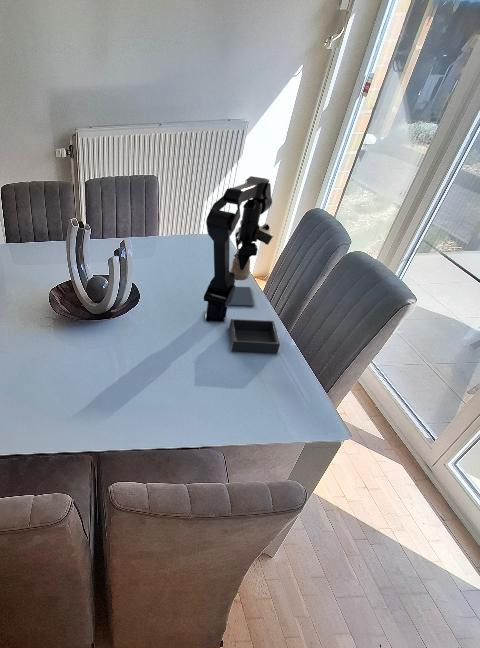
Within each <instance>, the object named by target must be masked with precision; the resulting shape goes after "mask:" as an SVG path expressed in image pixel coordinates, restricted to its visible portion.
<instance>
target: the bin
mask: <svg viewBox="0 0 480 648" xmlns="http://www.w3.org/2000/svg"><path fill="white" fill-rule="evenodd" d="M228 335H229V342H230V350H231V353H244V354H265V355H278V352H279V349H280V346H281V342H280V339H279V335H278V331H277V327H276V322H275V320H259V319H239V318H237V319H236V318H231V319H230V322H229V327H228Z"/></svg>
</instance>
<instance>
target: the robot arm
mask: <svg viewBox="0 0 480 648" xmlns="http://www.w3.org/2000/svg"><path fill="white" fill-rule="evenodd" d="M271 186H272V185H271V182H270V179H269V178H266V177H258V176H253V175H251V176H249V177H248V178H246V179H245V183H242V184H239V185H236V186H234V187H229V188H226V190H225V192H224V194H223V196H222V197H220V198H219V199H218V200H216V201H215V203H213V204H212V207H211V209H210V210H209V212H208V213H207V216H206V220H205V226H206V231H207V235H208V236H209V238H210V239H211V240H212V241H213V274H214V275H213V277H212V278H211V279H210V281H209V283H208V286H207V289H206V291H205V293H204V295H203V302H207V305H206V311H205V322H212V323H213V322H215V323H217V322H218V323H224V322H225V318H226V317H227V311H228V304H229V303H230V302H231V300H232V297H233V294H234V290H235V287H236V285H235V283H236V280H235V274H234V273H232V272H229V271H230V237H231V236H232V234H233V233H234V231H235V233H234V237H235V238H234V239H235V245H236V253H237V254H238V259H239V265H240V270H244V268H245V265H246V263H247V261H248V259H249V258H250V259H251V257H254V256H257V254H258V251H259V250H258V249H259V248H258V245H257V244H256V243H257V242H258V241H259V242H262V243H263V244H265V245H269V244H270V243H271V241H272V239H273V237H274V233H273V231H272V230H271V229H270V224H268V223H264V224H263V225H260V219H261V218H260V217H261V215H262V214H264V213H266V211H268V210H269V209H270V208H271V207H272V204H273V198H272V187H271ZM244 202H245V203H244ZM242 203H243V206H242ZM227 204H232V205H236V207H237V209H236V211H235V213H234V212H230V211H226V210H221V209H223V208H224V207H225V206H226V205H227ZM241 206H242V208H243V211H242V217H241ZM240 218H241V219H240ZM239 220H240V222H239ZM238 223H239V224H240V226H239V227H237V225H238ZM236 227H237V228H236ZM211 294H214V295H218V296H221V297H225V298H226V299H225V298H221V297H218V296H214V295H211Z"/></svg>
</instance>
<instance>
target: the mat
mask: <svg viewBox="0 0 480 648" xmlns="http://www.w3.org/2000/svg"><path fill="white" fill-rule="evenodd" d="M211 295H214V294H211ZM214 296H218V295H214ZM218 297H221V296H218ZM221 298H225V297H221ZM225 299H226V298H225ZM228 306H230V307H232V306H233V307H254V304H253V298H252V294H251V289H250V286H235V290H234V294H233V297H232V300H231V302H230V303H229V304H228V305H227V307H228Z"/></svg>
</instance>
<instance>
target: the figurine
mask: <svg viewBox="0 0 480 648" xmlns="http://www.w3.org/2000/svg"><path fill="white" fill-rule="evenodd" d="M250 268H251V257H250V258H249V259H248V261H247V263H246V265H245V268H244V270H240V265H239V259H238V254H237V252H236V253H235V254H234V255H233V260H232V263H231V267H230V268H229V272H232V273H234V274H235V281H245V280H247V279H248V278H249V275H250Z"/></svg>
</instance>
